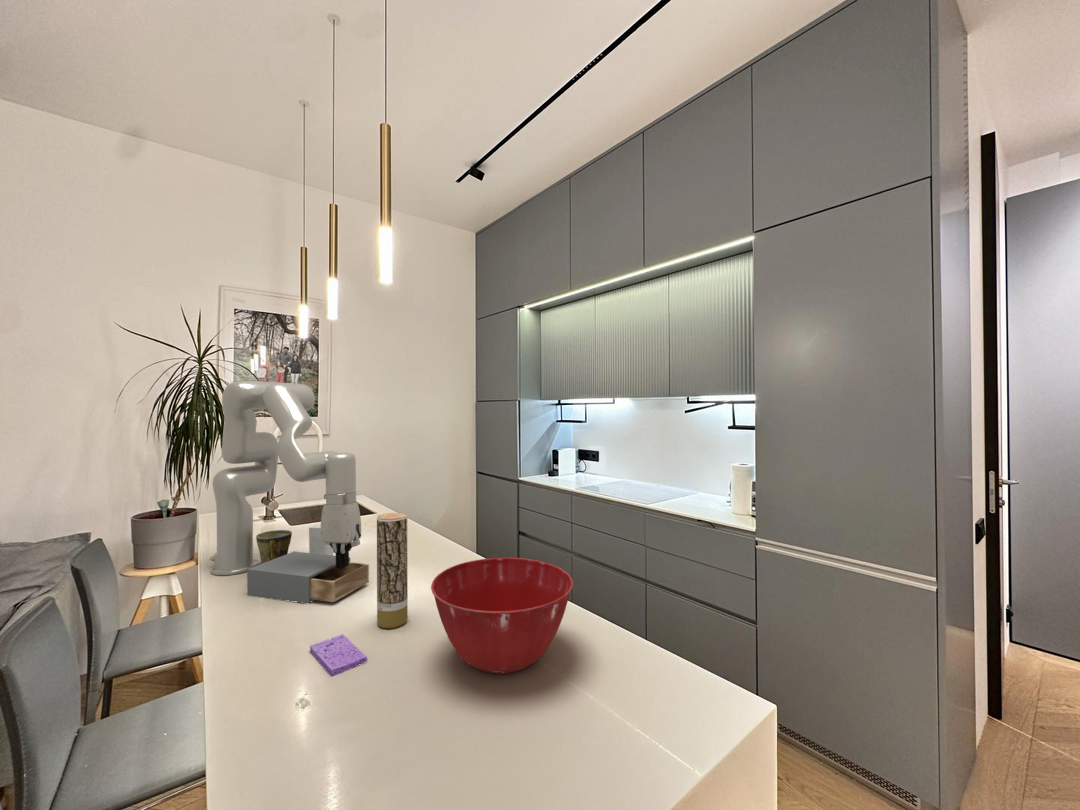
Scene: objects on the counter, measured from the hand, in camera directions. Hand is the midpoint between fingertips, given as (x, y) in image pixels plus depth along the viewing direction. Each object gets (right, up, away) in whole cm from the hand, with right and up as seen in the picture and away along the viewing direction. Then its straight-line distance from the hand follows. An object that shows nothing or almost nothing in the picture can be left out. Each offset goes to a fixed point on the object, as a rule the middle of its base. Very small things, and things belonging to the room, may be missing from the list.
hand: (342, 566), depth 126 cm
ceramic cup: (-31, -8, +22) cm, 39 cm away
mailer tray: (-6, -6, +2) cm, 9 cm away
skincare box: (-17, -8, +25) cm, 32 cm away
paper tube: (+19, -7, -17) cm, 27 cm away
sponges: (+13, -8, -32) cm, 35 cm away
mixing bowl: (+46, -7, -31) cm, 56 cm away
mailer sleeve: (-13, -7, +4) cm, 16 cm away
